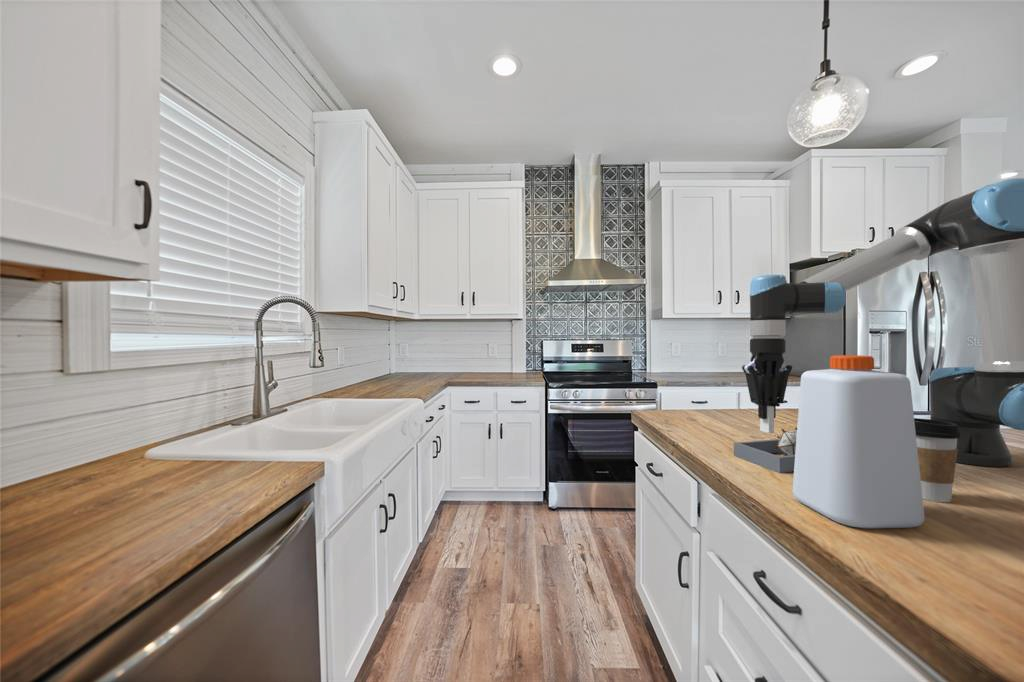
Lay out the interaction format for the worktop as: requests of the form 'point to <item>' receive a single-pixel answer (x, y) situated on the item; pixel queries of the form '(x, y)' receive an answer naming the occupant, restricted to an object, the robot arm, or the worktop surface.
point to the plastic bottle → (858, 446)
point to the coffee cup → (936, 457)
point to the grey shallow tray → (764, 455)
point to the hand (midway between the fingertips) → (766, 431)
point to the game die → (787, 442)
